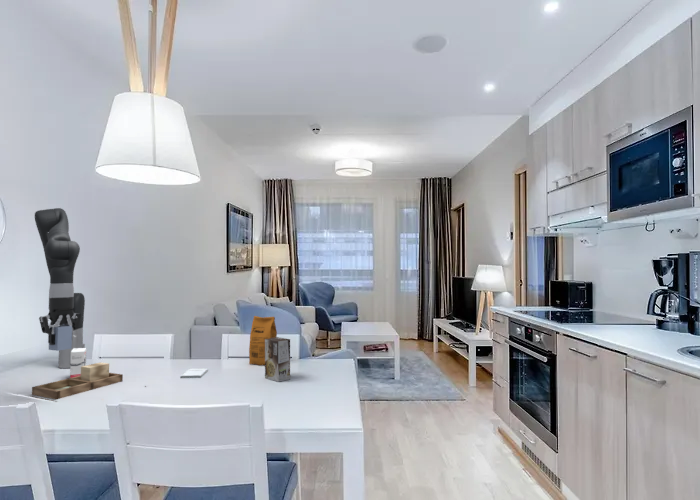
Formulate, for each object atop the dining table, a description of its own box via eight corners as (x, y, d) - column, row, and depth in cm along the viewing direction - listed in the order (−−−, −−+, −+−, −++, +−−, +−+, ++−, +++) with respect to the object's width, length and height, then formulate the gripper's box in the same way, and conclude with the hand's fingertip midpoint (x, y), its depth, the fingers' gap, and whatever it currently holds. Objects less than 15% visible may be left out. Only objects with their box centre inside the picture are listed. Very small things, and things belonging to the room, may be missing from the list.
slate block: (62, 347, 163) (63, 325, 164) (71, 348, 161) (72, 326, 162) (48, 349, 159) (49, 327, 159) (57, 350, 157) (58, 327, 157)
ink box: (84, 380, 179) (84, 350, 179) (69, 381, 177) (70, 351, 177) (86, 375, 187) (86, 347, 187) (72, 376, 184) (72, 348, 185)
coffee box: (290, 379, 181) (291, 339, 181) (278, 382, 176) (278, 341, 177) (276, 375, 187) (277, 336, 188) (264, 378, 182) (264, 338, 183)
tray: (99, 379, 180) (99, 371, 180) (122, 383, 175) (122, 374, 175) (31, 396, 157) (32, 387, 157) (56, 401, 151) (56, 391, 151)
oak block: (100, 380, 176) (100, 362, 176) (108, 381, 174) (109, 363, 174) (80, 385, 169) (80, 366, 169) (89, 386, 167) (89, 367, 167)
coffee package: (256, 360, 217) (256, 314, 217) (279, 362, 213) (279, 315, 213) (245, 364, 207) (245, 316, 208) (269, 366, 203) (269, 317, 204)
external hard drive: (180, 379, 182) (188, 372, 195) (200, 379, 183) (208, 372, 195) (180, 375, 182) (188, 368, 195) (200, 375, 183) (208, 368, 195)
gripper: (74, 294, 169) (73, 340, 168) (33, 296, 156) (32, 346, 155) (87, 295, 166) (86, 341, 165) (47, 297, 153) (45, 347, 152)
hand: (60, 343), depth 160 cm, fingers closed on slate block, 5 cm apart
